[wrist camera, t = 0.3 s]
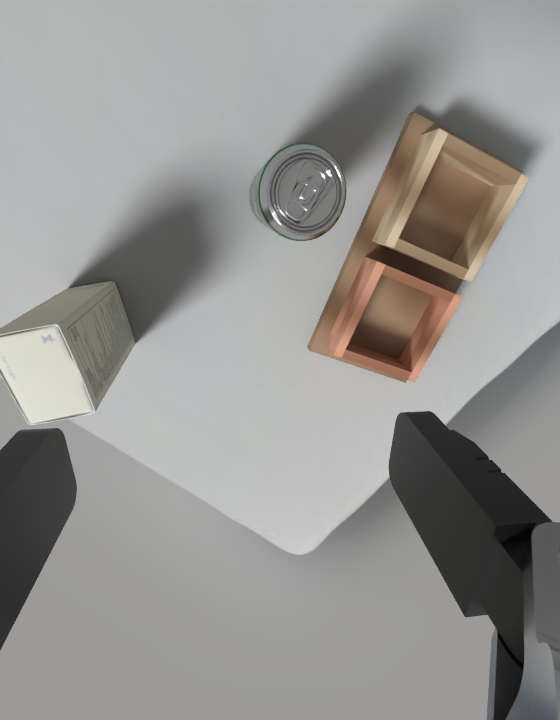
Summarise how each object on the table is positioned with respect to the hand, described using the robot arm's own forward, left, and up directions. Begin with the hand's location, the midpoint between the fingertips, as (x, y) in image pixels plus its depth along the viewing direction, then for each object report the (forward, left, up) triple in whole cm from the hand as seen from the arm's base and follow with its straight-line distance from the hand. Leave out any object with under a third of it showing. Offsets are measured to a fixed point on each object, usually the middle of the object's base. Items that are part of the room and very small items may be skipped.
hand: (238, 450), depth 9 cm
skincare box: (+8, -9, -26) cm, 29 cm away
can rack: (-6, +15, -26) cm, 30 cm away
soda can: (-7, +2, -26) cm, 27 cm away
